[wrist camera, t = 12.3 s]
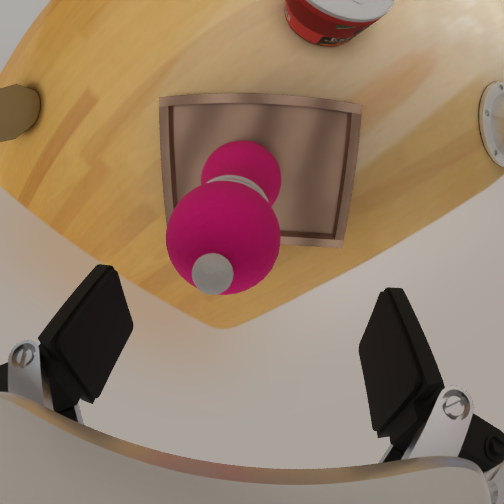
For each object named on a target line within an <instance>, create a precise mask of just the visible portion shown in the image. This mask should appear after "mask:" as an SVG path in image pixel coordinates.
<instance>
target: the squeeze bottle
mask: <svg viewBox="0 0 504 504" xmlns="http://www.w3.org/2000/svg"><path fill="white" fill-rule="evenodd" d="M39 111H40V100H39V95H38V94H37V92H36V91H34V90H32V89H29V88H26V87H24V86H21V85H18V84H15V85H11V86H8V87H4V88H1V89H0V142H3V141H7V140H12V139H16V138H17V137H18V136H19V135H21V134H22V133H23V132H24V131H26V130H27V129H28V128H29V127H31V126H32V125H33V124H34V123H35V121H36V119H37V118H38V114H39Z"/></svg>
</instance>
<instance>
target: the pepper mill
mask: <svg viewBox="0 0 504 504" xmlns="http://www.w3.org/2000/svg"><path fill="white" fill-rule="evenodd" d="M280 187H281V172H280V168H279V165H278V163H277V161H276V159H275V157H274V156H273V155H272V154H271V153H270V152H269V151H268V150H267V149H266V148H264V147H263V146H261V145H260V144H258V143H256V142H252V141H246V140H243V141H242V140H241V141H233V142H229V143H226V144H224V145H222V146H220V147H218V148H217V149H216V150H215V151H214V152H212V154H211V155H210V156H209V157H208V159H207V161H206V163H205V164H204V167H203V169H202V173H201V185H200V186H198V187H196V188H194V189H193V190H192V191H190V192H189V193H187V194H186V195H185V196H184V197H183V198H182V199H181V200H180V201H179V202H178V204H177V205H176V207H175V208H174V210H173V212H172V214H171V216H170V219H169V222H168V226H167V231H166V246H167V250H168V254H169V257H170V260H171V262H172V264H173V265H174V267H175V269H176V270H177V272H178V273H179V274H180V275H181V277H183V278H184V279H185V280H186V281H187V282H188V283H190V284H191V285H193V286H195V287H196V288H198V289H199V290H200V291H202V292H203V293H206V294H210V295H216V294H221V295H227V294H235V293H239V292H242V291H245V290H247V289H249V288H251V287H253V286H255V285H256V284H258V283H259V282H260V281H261V280H263V279H264V278H265V277H266V275H267V274H268V273H269V272H270V271H271V269H272V267H273V265H274V263H275V261H276V259H277V257H278V253H279V247H280V241H281V232H280V227H279V222H278V219H277V217H276V215H275V213H274V211H273V209H272V207H271V206H272V205H273V204H274V202H275V201H276V199H277V197H278V195H279V192H280Z"/></svg>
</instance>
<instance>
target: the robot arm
mask: <svg viewBox="0 0 504 504" xmlns="http://www.w3.org/2000/svg"><path fill="white" fill-rule="evenodd" d="M479 123H480V131H481V136H482V140H483V143H484V146H485V148H486V150H487V152H488V154H489V155H490V157H491V158H492V160H493V161H494V162H495V163H497V164H498V165H500V166H502V167H504V82H499V81H496V82H493V83H491V84H490V85H489V86H488V87H487V88H486V90H485V91H484V93H483V96H482V99H481V103H480V110H479ZM132 330H133V321H132V318H131V315H130V312H129V309H128V306H127V302H126V299H125V296H124V293H123V290H122V286H121V283H120V279H119V275H118V272H117V271H116V270H114V268H113V266H110V265H101V264H99V265H97V266H96V267H95V268H94V269H93V270H92V271H91V272H90V273H89V275H88V276H87V277H86V278H85V279H84V280H83V282H82V283H81V284H80V285H79V286H78V287H77V289H76V290H75V291H74V292H73V293H72V295H71V296H70V297H69V298H68V300H67V301H66V302H65V303H64V304H63V306H62V307H61V308H60V309H59V311H58V312H57V313H56V315H55V316H54V317H53V319H52V320H51V321H50V322H49V324H48V325H47V326H46V328H45V329H44V330H43V332H42V333H41V334H40V336H39V337H38V339H39V341H40V343H41V344H40V345H39V346H38V345H37V343H36V342H34V341H32V340H25V341H22V342H20V343H18V344H17V345H16V346H14V348H13V349H12V350H11V352H10V354H9V359H8V363H5V364H3V365H0V504H504V433H503V432H502V431H500V430H499V429H497V428H496V427H494V426H493V425H491V424H489V423H488V422H486V421H485V420H483V419H481V418H480V417H478V416H477V415H475V414H473V409H474V406H473V401H472V398H471V396H470V395H469V394H468V392H467V391H466V390H464V389H463V388H461V387H458V386H449V387H446V388H445V387H444V384H443V380H442V377H441V374H440V372H439V369H438V366H437V364H436V361H435V359H434V356H433V354H432V351H431V349H430V347H429V344H428V342H427V339H426V337H425V335H424V332H423V330H422V328H421V326H420V324H419V321H418V319H417V317H416V315H415V313H414V311H413V309H412V307H411V305H410V303H409V300H408V298H407V296H406V294H405V292H404V291H403V289H402V288H386V289H385V290H384V292H380V294H379V296H378V300H377V302H376V305H375V307H374V310H373V312H372V315H371V317H370V320H369V322H368V325H367V327H366V330H365V332H364V334H363V337H362V339H361V341H360V344H359V355H360V360H361V365H362V370H363V375H364V380H365V386H366V391H367V397H368V403H369V408H370V415H371V421H372V427H373V430H374V431H377V435H378V438H381V437H388V436H390V442H391V445H390V446H389V448H388V449H387V451H386V453H385V454H384V455H383V457H382V459H381V460H380V461H379V463H378V464H371V465H363V466H353V467H341V468H326V469H270V468H255V467H243V466H235V465H227V464H219V463H212V462H207V461H201V460H195V459H191V458H186V457H181V456H177V455H172V454H168V453H164V452H160V451H157V450H153V449H150V448H146V447H143V446H139V445H136V444H133V443H130V442H127V441H124V440H121V439H118V438H115V437H112V436H110V435H107V434H104V433H102V432H99V431H97V430H94V429H92V428H90V427H87V426H85V425H84V423H83V420H82V416H81V412H80V409H79V405H78V401H79V399H80V398H81V399H82V400H84V401H86V402H89V403H91V404H93V402H94V400H95V398H98V397H99V396H100V394H101V392H102V390H103V388H104V386H105V384H106V382H107V380H108V377H109V375H110V373H111V371H112V369H113V367H114V365H115V363H116V361H117V359H118V357H119V355H120V353H121V351H122V349H123V348H124V346H125V344H126V342H127V340H128V338H129V336H130V334H131V332H132Z"/></svg>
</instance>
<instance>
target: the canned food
mask: <svg viewBox="0 0 504 504" xmlns="http://www.w3.org/2000/svg"><path fill="white" fill-rule="evenodd" d="M393 2H394V0H285V8H284V10H285V16H286V19H287V21H288V23H289V25H290V26H291V28H292V29H293V30H294V31H295V32H296V33H297V34H298V35H300V36H301V37H302V38H304V39H306V40H307V41H310V42H312V43H314V44H318V45H322V46H337V45H341V44H344V43H346V42H348V41H349V40H351V39H352V38H353V37H355V36H356V35H357V34H359V33H360V32H362V31H363V30H364V29H366V28H367V27H369V26H370V25H371V24H373V23H374V22H376V21H377V20H378V19H380V18H381V17H382V16H384V15H385V14H386V13H387V12H388V11H389V10H390V8H391V7H392V5H393Z"/></svg>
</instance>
